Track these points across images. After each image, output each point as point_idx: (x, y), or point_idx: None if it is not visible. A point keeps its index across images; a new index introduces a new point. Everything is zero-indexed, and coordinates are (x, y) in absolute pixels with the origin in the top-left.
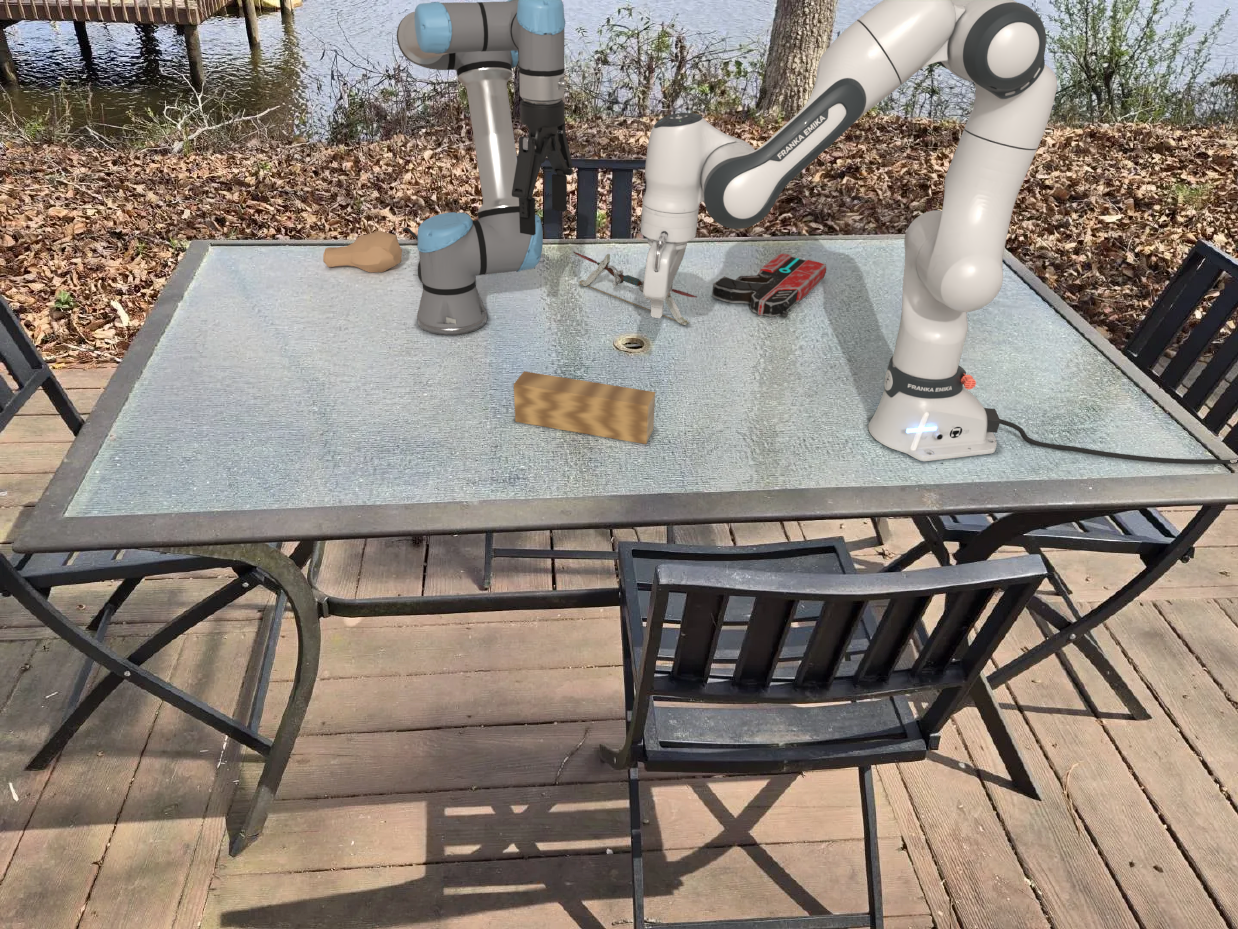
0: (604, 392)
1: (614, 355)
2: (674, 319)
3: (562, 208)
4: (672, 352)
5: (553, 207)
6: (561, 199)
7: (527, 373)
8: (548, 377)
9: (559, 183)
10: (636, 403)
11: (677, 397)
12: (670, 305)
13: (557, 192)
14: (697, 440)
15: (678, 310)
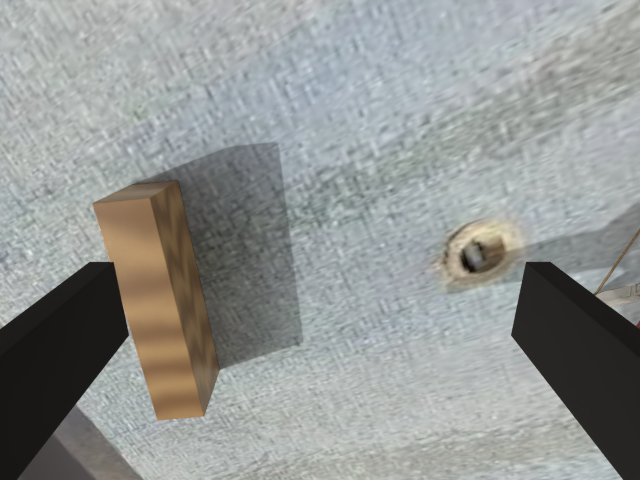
0: (159, 354)
1: (424, 241)
2: (598, 290)
3: (520, 330)
4: (467, 322)
5: (531, 276)
6: (551, 359)
7: (145, 208)
8: (153, 251)
9: (634, 436)
10: (154, 405)
11: (322, 370)
12: (620, 294)
13: (587, 361)
14: (223, 421)
15: (610, 305)
